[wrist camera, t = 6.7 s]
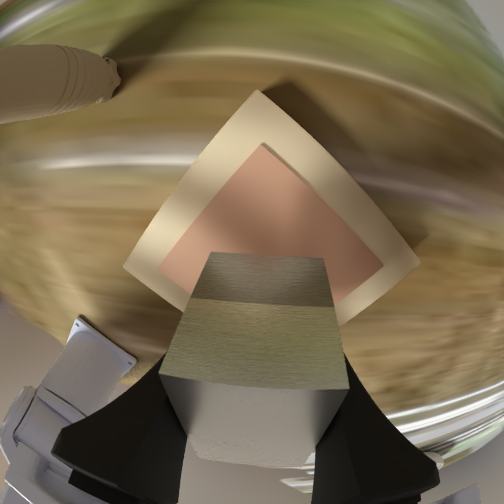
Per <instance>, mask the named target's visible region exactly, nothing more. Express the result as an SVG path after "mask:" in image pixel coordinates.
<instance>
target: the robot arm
mask: <svg viewBox="0 0 504 504" xmlns="http://www.w3.org/2000/svg"><path fill="white" fill-rule="evenodd" d="M166 353H167V352H166ZM166 353H165V354H164V355H163V356H162V358H161V359H160V360H159V361H158V362H157V363H156V364H155V365H154V366H153V367H152V368H151V369H150V370H149V371H148V372H147V373H146V374H145V375H144V376H143V377H142V378H141V379H140V380H139V381H138V382H136V383H135V384H134V385H133V386H132V387H130V388H129V389H128V390H127V391H126V392H124V393H123V394H122V395H120V396H119V397H118V398H116V399H115V400H114V401H112V402H111V403H109V404H108V402H109V400H110V397H111V395H112V393H113V391H114V389H115V387H116V385H117V383H118V381H119V380H120V379H121V378H122V377H123V376H124V375H125V374H126V373H127V372H128V371H129V370H130V369H131V368H132V367H133V366H134V365H135V364H136V362H137V360H136V359H135V358H134V357H133V356H131V355H130V354H128V353H127V352H125V351H124V350H122V349H121V348H119V347H118V346H117V345H115V344H114V343H112V342H111V341H110V340H108V339H107V338H106V337H104V336H103V335H102V334H100V333H99V332H98V331H96V330H95V329H94V328H92V327H91V326H90V325H89V324H87V323H86V322H85V321H84V320H82V319H81V318H80V317H77V318H76V319H75V321H74V324H73V326H72V329H71V332H70V335H69V337H68V340H67V343H66V346H65V347H64V348H63V350H62V351H61V353H60V354H59V356H58V357H57V359H56V360H55V362H54V363H53V365H52V367H51V368H50V369H49V371H48V373H47V374H46V376H45V377H44V379H43V381H42V382H41V384H40V386H39V387H38V388H36V389H34V388H33V387H32V386H25V387H23V388H22V390H21V391H20V392H19V394H18V395H17V397H16V398H15V400H14V402H13V403H12V405H11V407H10V408H9V410H8V412H7V414H6V416H5V418H4V421H3V424H2V426H1V428H0V448H1V450H2V452H3V454H4V456H5V458H6V459H7V461H8V463H9V467H8V470H7V472H6V475H5V477H4V480H5V481H6V482H5V485H4V487H3V490H2V492H1V495H0V504H177V503H178V497H179V488H180V479H181V471H182V465H183V459H184V453H185V447H186V442H187V435H186V433H185V431H184V429H183V427H182V425H181V423H180V421H179V419H178V417H177V415H176V413H175V410H174V408H173V406H172V404H171V402H170V399H169V397H168V395H167V393H166V390H165V388H164V386H163V383H162V381H161V379H160V376H159V374H158V373H159V370H160V368H161V365H162V363H163V360H164V358H165V356H166ZM344 358H345V364H346V370H347V376H348V382H349V391H348V393H347V395H346V396H345V398H344V400H343V402H342V404H341V406H340V407H339V409H338V411H337V413H336V414H335V416H334V418H333V419H332V421H331V423H330V424H329V426H328V428H327V429H326V431H325V433H324V434H323V436H322V437H321V439H320V441H319V442H318V444H317V445H316V453H315V471H314V483H313V493H312V501H311V504H418V503H417V502H420V501H421V495H420V494H421V493H423V492H425V491H427V490H430V489H431V488H434V487H435V486H437V485H439V483H440V478H439V472H438V468H437V465H436V462H435V461H433V460H432V459H431V458H429V457H428V456H427V455H425V454H424V453H423V452H421V451H420V450H419V449H418V448H417V447H415V446H414V445H413V444H412V443H411V442H410V441H409V440H408V439H407V438H406V437H405V436H404V435H403V434H402V433H401V432H400V431H399V430H398V429H397V428H396V427H395V426H394V425H393V424H392V423H391V422H390V421H389V420H388V419H387V417H386V416H385V415H384V414H383V413H382V411H381V410H380V409H379V408H378V406H377V405H376V404H375V402H374V401H373V400H372V398H371V397H370V395H369V394H368V392H367V391H366V389H365V388H364V386H363V385H362V383H361V382H360V380H359V378H358V377H357V375H356V373H355V372H354V370H353V368H352V367H351V365H350V363H349V361H348V359H347V357H346V356H345V354H344ZM107 404H108V405H107ZM16 440H17V441H18V442H20V443H18V442H17V441H16ZM431 504H481V501H480V493H479V488H478V483H475V484H473V485H471V486H469V487H467V488H465V489H463V490H461V491H458V492H456V493H454V494H452V495H449V496H447V497H445V498H444V499H441V500H439V501H436V502H434V503H431Z"/></svg>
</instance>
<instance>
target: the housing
mask: <svg viewBox="0 0 504 504" xmlns="http://www.w3.org/2000/svg"><path fill="white" fill-rule="evenodd" d="M158 374H159V376H160V379H161V381H162V383H163V386H164V388H165V390H166V393H167V395H168V397H169V399H170V402H171V404H172V406H173V408H174V410H175V413H176V415H177V417H178V419H179V421H180V423H181V425H182V427H183V429H184V431H185V433H186V435H187V437H188V439H189V441H190V442H191V444H192V446H193V448H194V450H195V452H196V454H197V455H198V457H199V458H204V459H209V460H215V461H223V462H230V463H238V464H248V465H261V466H284V467H302V466H303V464H304V463H305V461H306V460H307V459H308V457H309V456H310V454H311V453H312V451H313V450H314V448H315V447H316V445H317V444H318V442H319V441H320V439H321V437H322V436H323V434H324V433H325V431H326V429H327V428H328V426H329V424H330V423H331V421H332V419H333V418H334V416H335V414H336V413H337V411H338V409H339V407H340V406H341V404H342V402H343V400H344V398H345V396H346V395H347V393H348V391H349V382H348V376H347V370H346V364H345V358H344V352H343V347H342V341H341V336H340V331H339V326H338V321H337V316H336V311H335V306H334V302H333V297H332V293H331V288H330V284H329V279H328V275H327V271H326V267H325V263H324V259H323V258H311V257H294V256H278V255H261V254H244V253H228V252H210V255H209V257H208V259H207V261H206V263H205V266H204V268H203V270H202V272H201V274H200V277H199V279H198V281H197V283H196V286H195V288H194V290H193V292H192V295H191V297H190V299H189V301H188V304H187V306H186V308H185V311H184V313H183V315H182V317H181V320H180V322H179V324H178V327H177V329H176V332H175V334H174V336H173V339H172V341H171V343H170V346H169V348H168V351H167V353H166V356H165V358H164V360H163V363H162V365H161V368H160V370H159V373H158Z"/></svg>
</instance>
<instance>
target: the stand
mask: <svg viewBox="0 0 504 504" xmlns="http://www.w3.org/2000/svg"><path fill="white" fill-rule="evenodd" d="M210 252H228V253H244V254H261V255H278V256H294V257H311V258H323V259H324V263H325V267H326V271H327V275H328V279H329V284H330V288H331V293H332V297H333V302H334V306H335V311H336V316H337V321H338V326H339V327H340V326H341V325H343V324H344V323H346V322H347V321H348V320H350V319H351V318H353V317H354V316H355V315H357V314H358V313H360V312H361V311H362V310H364V309H365V308H366V307H368V306H369V305H370V304H372V303H373V302H374V301H376V300H377V299H378V298H379V297H381V296H382V295H383V294H385V293H386V292H387V291H388V290H390V289H391V288H392V287H393V286H395V285H396V284H397V283H398V282H399V281H401V280H402V279H403V278H404V277H405V276H407V275H408V274H409V273H410V272H411V271H413V270H414V269H415V268H416V267H417V266H418V265H419V264H421V262H420V260H419V259H418V258H417V256H416V255H415V253H414V252H413V251H412V249H411V248H410V247H409V245H408V244H407V243H406V241H405V240H404V239H403V237H402V236H401V235H400V233H399V232H398V231H397V229H396V228H395V227H394V226H393V224H392V223H391V222H390V221H389V219H388V218H387V217H386V216H385V214H384V213H383V212H382V211H381V210H380V208H379V207H378V206H377V205H376V204H375V203H374V201H373V200H372V199H371V198H370V197H369V196H368V194H367V193H366V192H365V191H364V190H363V189H362V188H361V187H360V185H359V184H358V183H357V182H356V181H355V180H354V179H353V178H352V177H351V176H350V175H349V173H348V172H347V171H346V170H345V169H344V168H343V167H342V166H341V165H340V164H339V163H338V162H337V161H336V160H335V159H334V158H333V157H332V156H331V155H330V154H329V153H328V152H327V151H326V150H325V149H324V148H323V147H322V146H321V145H320V144H319V143H318V142H317V141H316V140H315V139H314V138H313V137H312V136H311V135H310V134H308V133H307V132H306V131H305V130H304V129H303V128H302V127H301V126H300V125H299V124H298V123H296V122H295V121H294V120H293V119H292V118H291V117H290V116H289V115H287V114H286V113H285V112H284V111H283V110H282V109H280V108H279V107H278V106H277V105H276V104H275V103H273V102H272V101H271V100H270V99H268V98H267V97H266V96H265V95H264V94H262V93H261V92H260V91H259V90H256V91H255V92H254V93H253V94H252V95H251V96H250V97H249V98H248V99H247V100H246V101H245V102H244V104H243V105H242V106H241V107H240V108H239V109H238V110H237V111H236V112H235V114H234V115H233V116H232V117H231V118H230V119H229V120H228V122H227V123H226V124H225V125H224V126H223V127H222V129H221V130H220V131H219V132H218V133H217V135H216V136H215V137H214V138H213V139H212V141H211V142H210V143H209V144H208V146H207V147H206V148H205V149H204V151H203V152H202V153H201V154H200V156H199V157H198V158H197V159H196V161H195V162H194V163H193V165H192V166H191V167H190V168H189V170H188V171H187V172H186V174H185V175H184V176H183V178H182V179H181V180H180V182H179V183H178V184H177V186H176V187H175V189H174V190H173V191H172V193H171V194H170V195H169V197H168V198H167V200H166V201H165V203H164V204H163V205H162V207H161V208H160V210H159V211H158V213H157V214H156V216H155V217H154V219H153V220H152V222H151V223H150V225H149V226H148V228H147V229H146V231H145V232H144V234H143V235H142V237H141V238H140V240H139V241H138V243H137V245H136V246H135V248H134V249H133V251H132V253H131V254H130V256H129V257H128V259H127V261H126V262H125V264H124V266H123V268H124V269H126V270H127V271H128V272H129V273H131V274H132V275H133V276H135V277H136V278H137V279H138V280H140V281H141V282H142V283H144V284H145V285H146V286H147V287H149V288H150V289H151V290H153V291H154V292H155V293H157V294H158V295H160V296H161V297H162V298H164V299H165V300H166V301H168V302H169V303H170V304H172V305H173V306H175V307H176V308H177V309H179V310H180V311H182V312H183V313H184V311H185V308H186V306H187V304H188V301H189V299H190V297H191V295H192V292H193V290H194V288H195V286H196V283H197V281H198V279H199V277H200V274H201V272H202V270H203V268H204V266H205V263H206V261H207V259H208V257H209V255H210Z"/></svg>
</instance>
